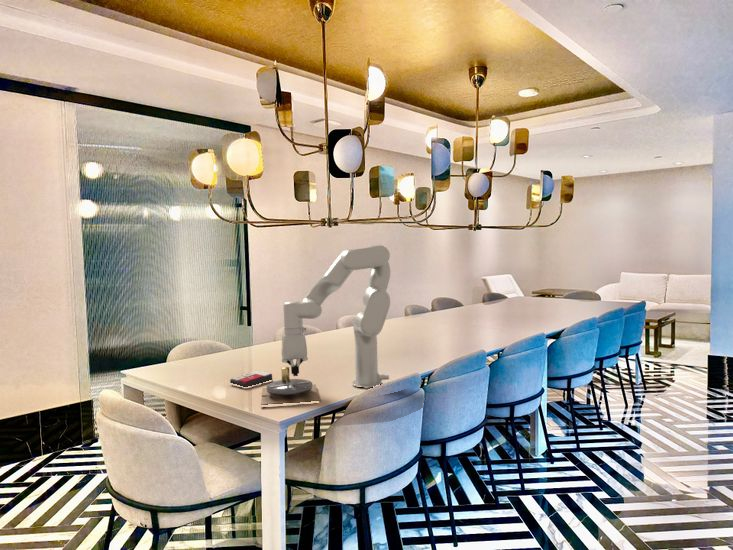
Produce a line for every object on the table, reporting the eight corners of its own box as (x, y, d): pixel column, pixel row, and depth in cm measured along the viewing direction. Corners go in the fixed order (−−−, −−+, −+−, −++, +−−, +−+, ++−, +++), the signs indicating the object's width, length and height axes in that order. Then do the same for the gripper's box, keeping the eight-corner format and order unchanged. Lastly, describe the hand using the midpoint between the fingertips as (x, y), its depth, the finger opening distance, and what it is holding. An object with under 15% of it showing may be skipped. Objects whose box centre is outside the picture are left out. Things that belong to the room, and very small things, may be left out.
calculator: (229, 378, 222) (256, 369, 234) (230, 387, 222) (257, 378, 234) (245, 381, 215) (272, 372, 227) (246, 391, 216) (273, 381, 227)
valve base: (315, 387, 215) (315, 383, 215) (320, 403, 193) (319, 398, 193) (262, 391, 211) (262, 387, 211) (261, 408, 190) (260, 403, 190)
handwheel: (318, 396, 197) (317, 373, 197) (271, 402, 191) (271, 379, 190) (306, 384, 214) (305, 364, 213) (263, 390, 207) (262, 369, 207)
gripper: (310, 328, 214) (311, 371, 215) (274, 331, 210) (276, 375, 211) (313, 331, 207) (314, 375, 208) (276, 334, 203) (278, 379, 204)
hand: (295, 375), depth 210 cm, fingers closed
